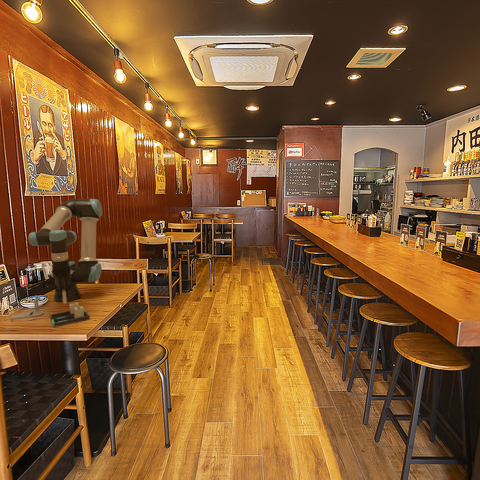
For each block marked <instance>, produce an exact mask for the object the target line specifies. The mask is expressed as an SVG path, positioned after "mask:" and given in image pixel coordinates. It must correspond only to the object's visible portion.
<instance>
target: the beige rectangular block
mask: <svg viewBox="0 0 480 480" xmlns="http://www.w3.org/2000/svg"><path fill="white" fill-rule="evenodd" d="M68 304H69V311H70V314H73V313H74V307H77V306H78V305H79V306H80V304H79V302H78V301H77V302H75V301H72V302H71V303H68Z"/></svg>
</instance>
